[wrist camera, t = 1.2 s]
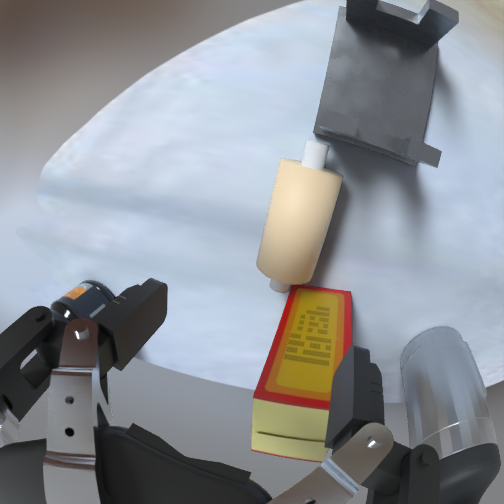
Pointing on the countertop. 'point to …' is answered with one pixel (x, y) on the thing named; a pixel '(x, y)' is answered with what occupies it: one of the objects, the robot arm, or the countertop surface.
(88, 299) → the supplement container
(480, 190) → the countertop surface
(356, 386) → the robot arm
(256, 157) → the countertop surface
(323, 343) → the baking soda box
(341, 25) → the roll holder
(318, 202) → the paper roll
